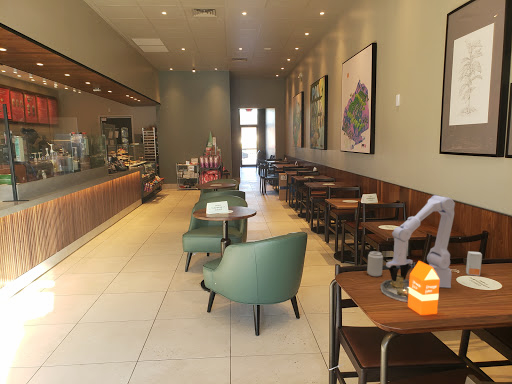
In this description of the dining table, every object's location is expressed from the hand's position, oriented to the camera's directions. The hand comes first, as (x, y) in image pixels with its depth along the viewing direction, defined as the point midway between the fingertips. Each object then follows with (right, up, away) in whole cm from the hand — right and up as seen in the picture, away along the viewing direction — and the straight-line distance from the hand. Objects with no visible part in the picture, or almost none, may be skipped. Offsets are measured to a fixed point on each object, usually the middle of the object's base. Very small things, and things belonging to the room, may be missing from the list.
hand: (398, 279), depth 181 cm
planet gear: (0, -3, +1) cm, 3 cm away
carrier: (+2, -5, -5) cm, 8 cm away
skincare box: (+48, -2, +21) cm, 52 cm away
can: (-6, -2, +19) cm, 20 cm away
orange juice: (+1, -7, -23) cm, 24 cm away
